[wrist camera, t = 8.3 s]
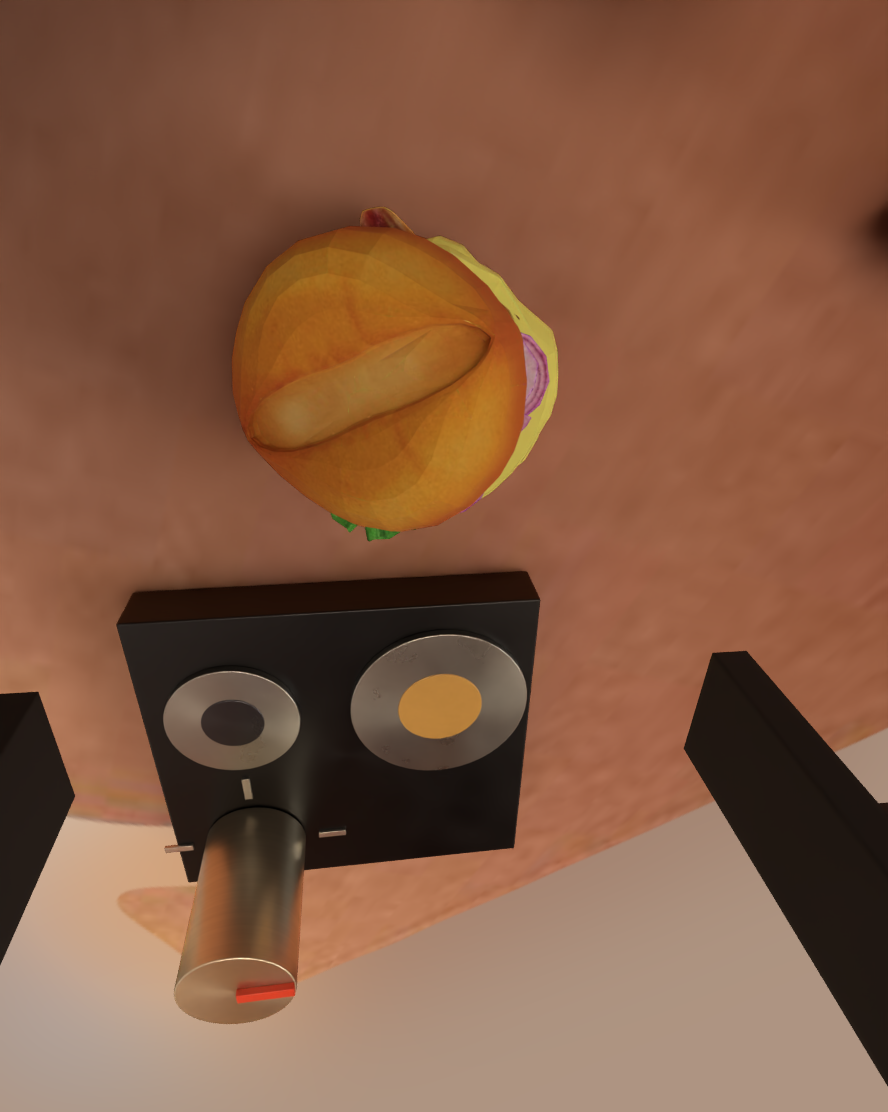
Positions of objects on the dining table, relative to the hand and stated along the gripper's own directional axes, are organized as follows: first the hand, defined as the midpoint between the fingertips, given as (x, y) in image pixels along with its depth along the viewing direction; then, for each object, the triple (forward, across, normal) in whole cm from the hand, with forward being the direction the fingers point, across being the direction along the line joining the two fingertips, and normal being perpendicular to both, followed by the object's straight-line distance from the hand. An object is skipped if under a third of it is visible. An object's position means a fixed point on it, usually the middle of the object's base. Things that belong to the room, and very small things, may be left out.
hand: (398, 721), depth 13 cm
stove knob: (+13, -6, -21) cm, 25 cm away
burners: (+14, -1, -12) cm, 18 cm away
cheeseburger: (+16, +1, +3) cm, 17 cm away
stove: (+16, -2, -15) cm, 22 cm away
